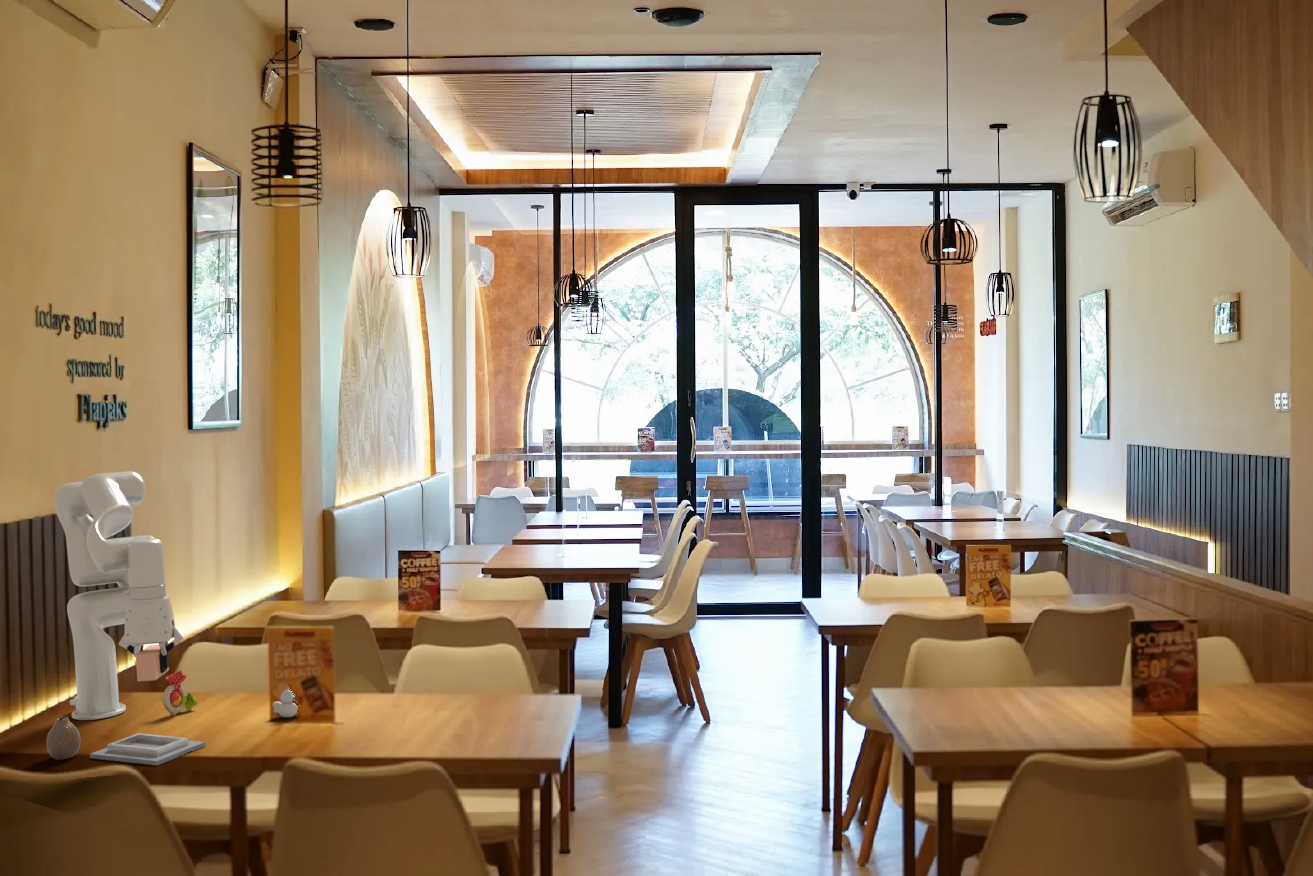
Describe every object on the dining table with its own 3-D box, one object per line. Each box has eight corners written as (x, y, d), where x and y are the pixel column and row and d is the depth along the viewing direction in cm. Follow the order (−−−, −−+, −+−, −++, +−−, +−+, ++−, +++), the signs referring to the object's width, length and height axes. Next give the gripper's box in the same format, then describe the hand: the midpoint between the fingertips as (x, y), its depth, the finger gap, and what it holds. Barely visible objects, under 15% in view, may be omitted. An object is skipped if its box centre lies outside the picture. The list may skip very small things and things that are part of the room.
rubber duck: (295, 719, 287) (293, 687, 287) (269, 720, 288) (267, 688, 287) (303, 713, 292) (301, 681, 292) (278, 714, 293) (276, 682, 293)
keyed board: (90, 758, 263) (89, 747, 263) (139, 739, 276) (139, 729, 276) (157, 765, 255) (156, 754, 255) (205, 746, 268) (204, 735, 268)
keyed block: (137, 681, 264) (135, 655, 264) (151, 671, 274) (149, 645, 274) (155, 680, 264) (154, 653, 264) (169, 669, 274) (167, 644, 274)
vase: (71, 750, 270) (68, 713, 269) (87, 754, 266) (85, 716, 265) (41, 759, 264) (38, 720, 264) (57, 763, 260) (54, 724, 260)
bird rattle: (185, 724, 296) (203, 701, 304) (171, 688, 291) (190, 666, 299) (163, 724, 297) (182, 700, 305) (149, 688, 292) (169, 666, 300)
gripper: (104, 598, 264) (109, 679, 264) (181, 593, 266) (186, 673, 266) (115, 592, 271) (120, 671, 272) (190, 588, 273) (195, 666, 274)
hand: (153, 671), depth 269 cm, fingers closed on keyed block, 4 cm apart
